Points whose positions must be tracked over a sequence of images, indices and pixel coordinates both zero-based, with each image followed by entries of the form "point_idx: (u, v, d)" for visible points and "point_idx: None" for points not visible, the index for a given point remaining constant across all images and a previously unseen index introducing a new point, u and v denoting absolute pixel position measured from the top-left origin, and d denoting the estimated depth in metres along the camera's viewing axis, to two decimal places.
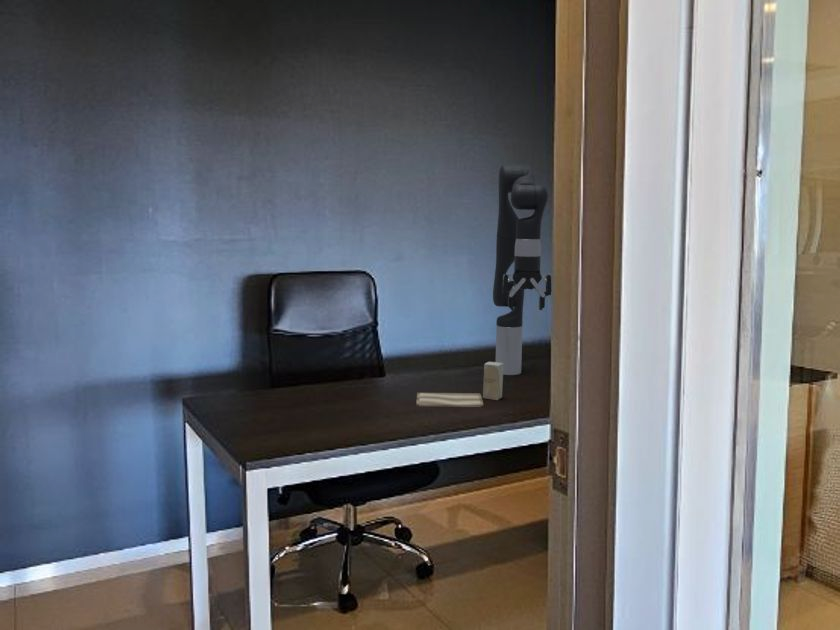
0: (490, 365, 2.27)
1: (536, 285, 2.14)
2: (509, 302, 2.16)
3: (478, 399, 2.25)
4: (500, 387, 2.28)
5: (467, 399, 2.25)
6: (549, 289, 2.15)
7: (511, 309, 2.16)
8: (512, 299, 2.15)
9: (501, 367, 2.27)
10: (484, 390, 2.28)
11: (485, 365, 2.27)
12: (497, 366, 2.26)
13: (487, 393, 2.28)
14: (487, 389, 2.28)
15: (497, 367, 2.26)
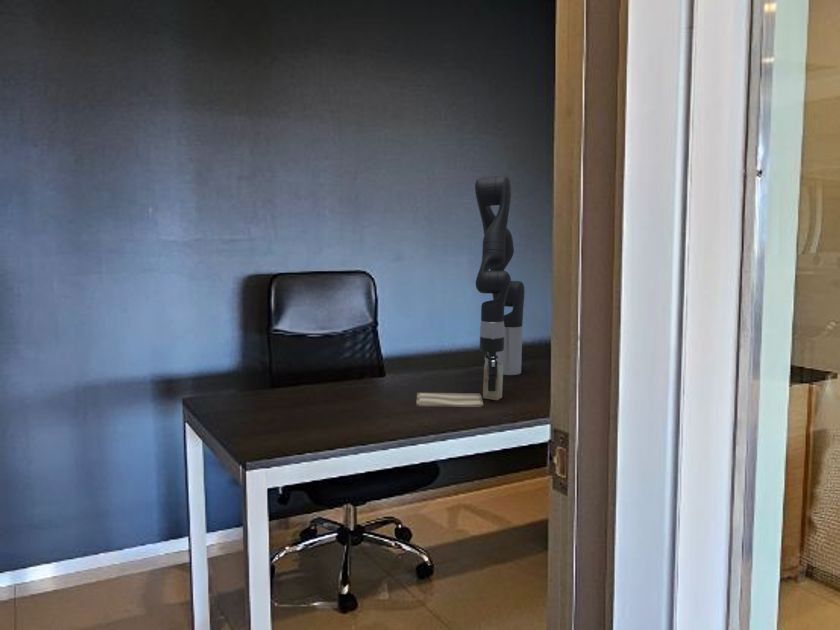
0: None
1: None
2: (494, 384, 2.25)
3: (478, 399, 2.25)
4: (500, 387, 2.28)
5: (467, 399, 2.25)
6: None
7: (494, 390, 2.26)
8: None
9: (501, 367, 2.27)
10: (484, 390, 2.28)
11: (485, 365, 2.27)
12: (497, 366, 2.25)
13: (487, 393, 2.28)
14: (487, 389, 2.28)
15: None
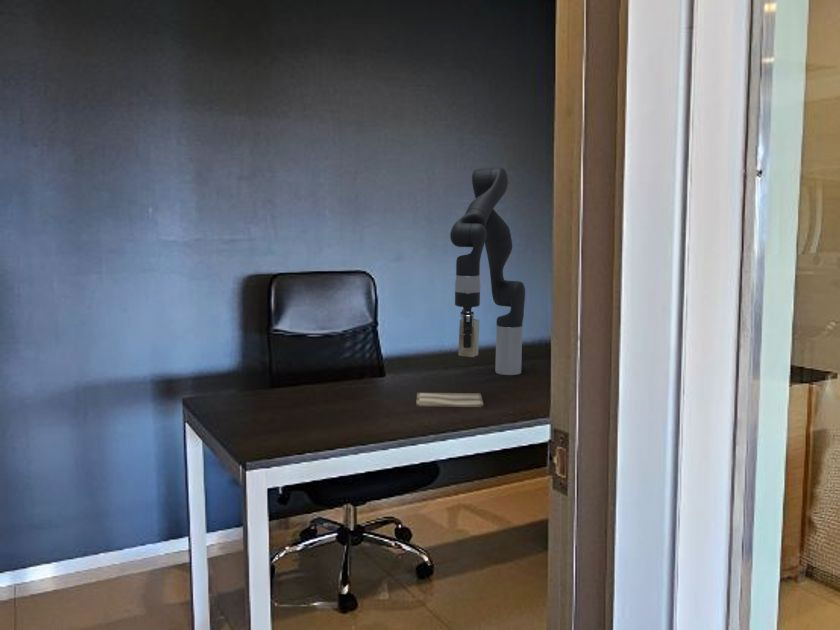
0: None
1: None
2: (469, 340, 2.19)
3: (478, 399, 2.25)
4: (476, 344, 2.22)
5: (467, 399, 2.25)
6: None
7: None
8: (470, 337, 2.20)
9: (477, 323, 2.21)
10: (459, 347, 2.22)
11: (460, 321, 2.21)
12: (473, 322, 2.20)
13: (462, 350, 2.22)
14: None
15: None
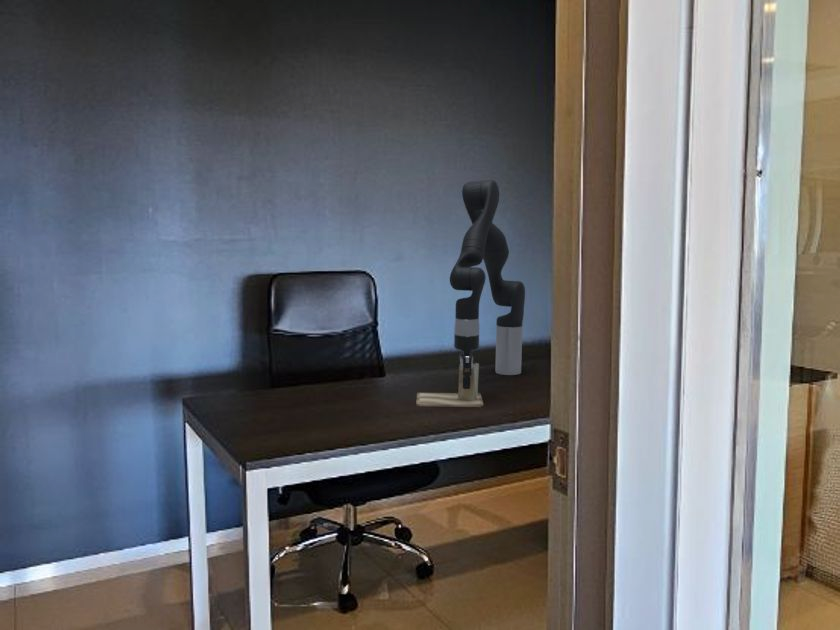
0: None
1: None
2: (468, 382, 2.20)
3: (478, 399, 2.25)
4: (475, 388, 2.24)
5: None
6: None
7: (469, 388, 2.21)
8: None
9: (476, 367, 2.23)
10: (459, 391, 2.24)
11: (460, 366, 2.23)
12: (472, 367, 2.22)
13: (462, 394, 2.24)
14: (463, 390, 2.24)
15: (472, 368, 2.22)
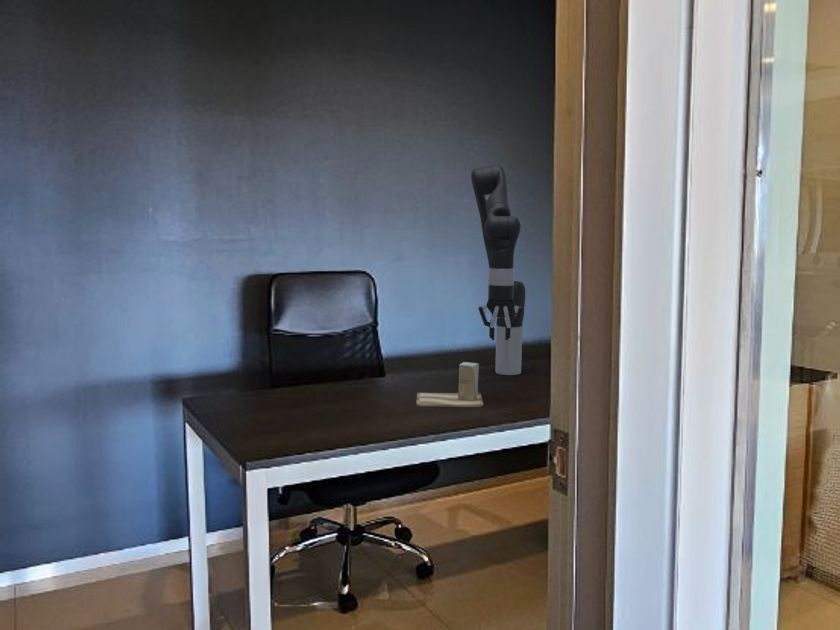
0: (465, 366, 2.22)
1: None
2: None
3: (478, 399, 2.25)
4: (475, 388, 2.24)
5: None
6: None
7: None
8: None
9: (476, 367, 2.23)
10: (459, 391, 2.24)
11: (460, 366, 2.23)
12: (472, 367, 2.22)
13: (462, 394, 2.24)
14: (463, 390, 2.24)
15: (472, 368, 2.22)
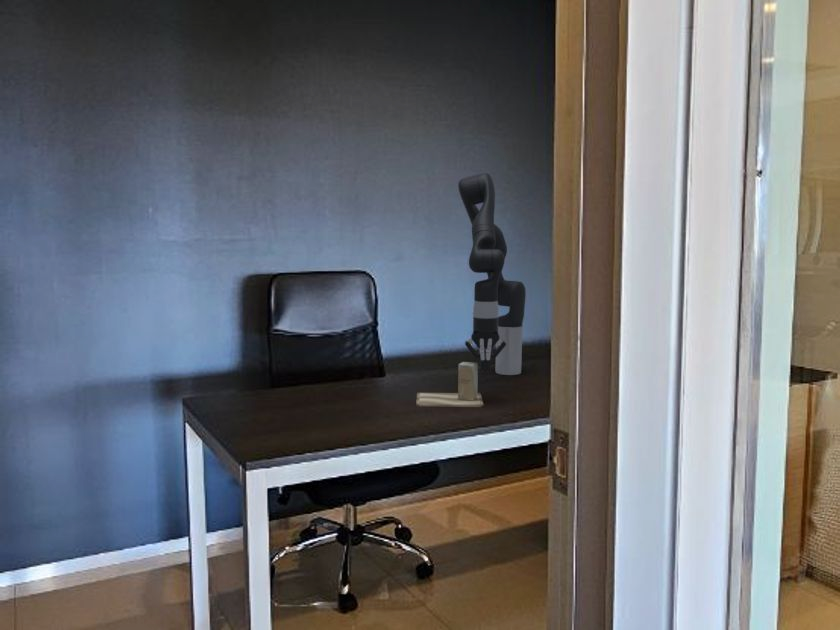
0: (464, 365, 2.22)
1: None
2: None
3: (478, 399, 2.25)
4: (475, 387, 2.24)
5: None
6: None
7: None
8: None
9: (475, 367, 2.23)
10: (459, 391, 2.24)
11: (459, 366, 2.23)
12: (471, 366, 2.22)
13: (462, 394, 2.24)
14: (462, 390, 2.24)
15: (471, 367, 2.22)
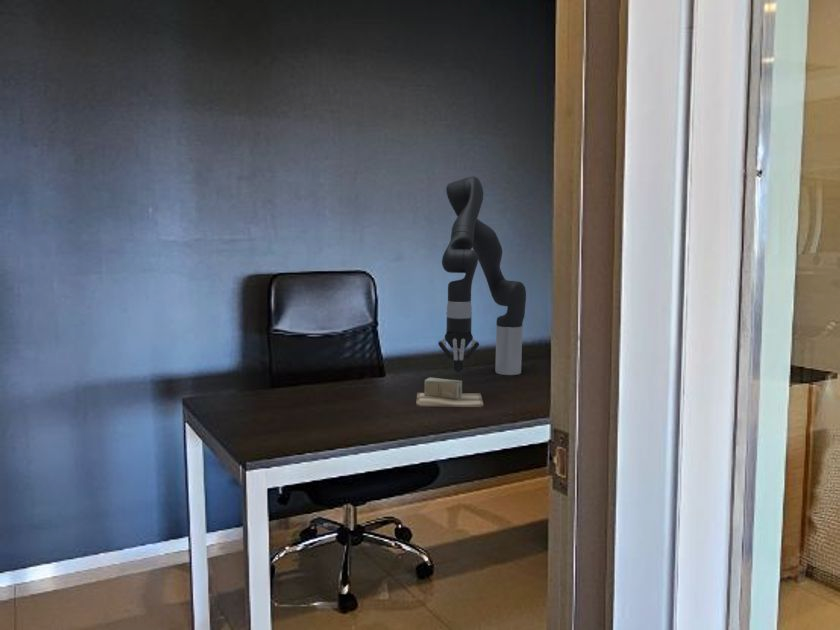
0: (425, 388, 2.29)
1: None
2: None
3: (478, 399, 2.25)
4: (448, 380, 2.28)
5: (467, 399, 2.25)
6: None
7: None
8: None
9: (430, 378, 2.30)
10: (449, 396, 2.26)
11: (425, 394, 2.29)
12: (425, 381, 2.29)
13: (452, 393, 2.25)
14: (448, 393, 2.26)
15: (426, 382, 2.28)
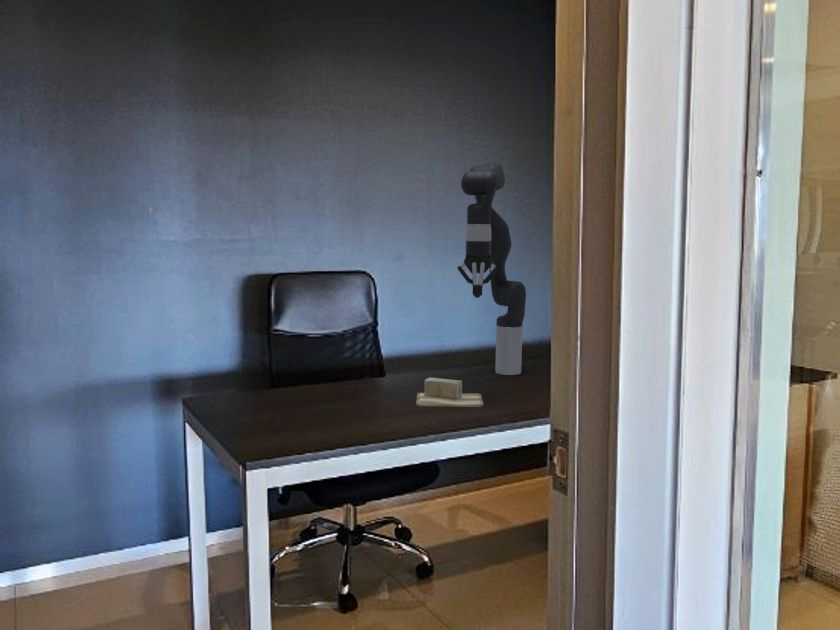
0: (425, 388, 2.29)
1: None
2: None
3: (478, 399, 2.25)
4: (448, 380, 2.28)
5: (467, 399, 2.25)
6: None
7: None
8: None
9: (430, 378, 2.30)
10: (449, 396, 2.26)
11: (425, 394, 2.29)
12: (425, 381, 2.29)
13: (452, 393, 2.25)
14: (448, 393, 2.26)
15: (426, 382, 2.28)
